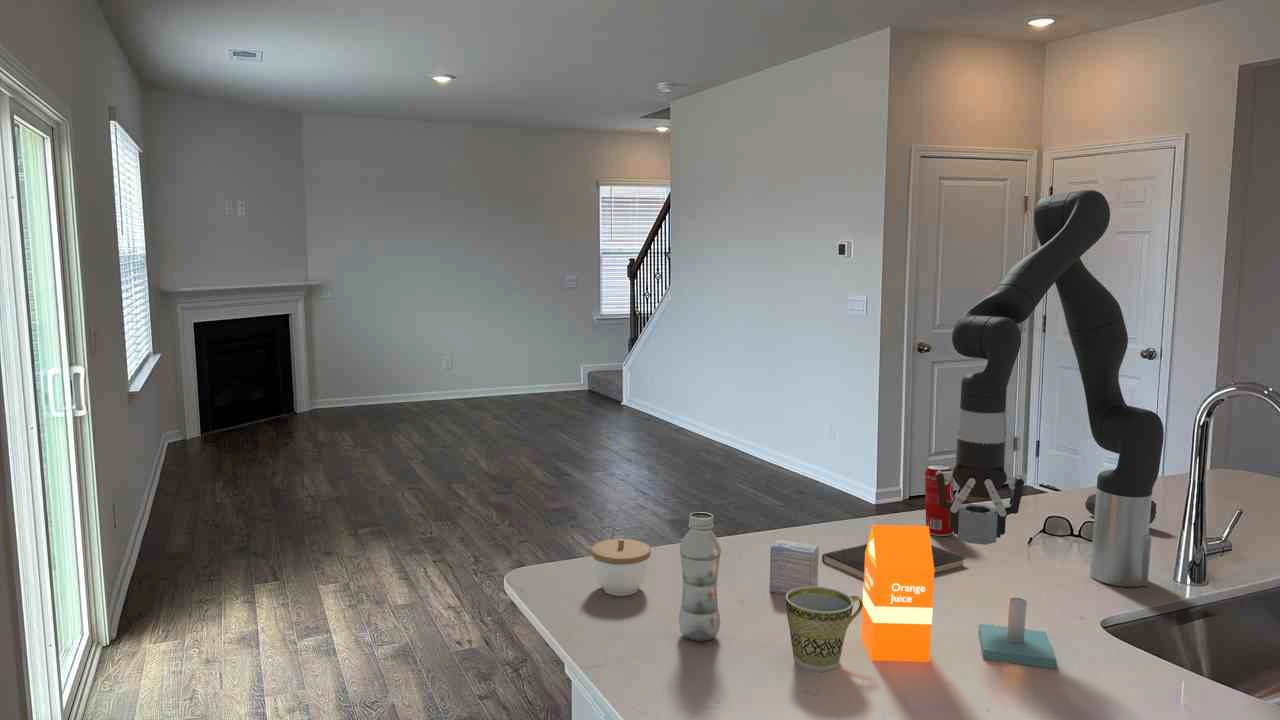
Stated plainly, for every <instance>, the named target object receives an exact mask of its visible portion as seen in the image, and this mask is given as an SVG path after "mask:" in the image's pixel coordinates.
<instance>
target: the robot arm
mask: <svg viewBox="0 0 1280 720" xmlns="http://www.w3.org/2000/svg"><path fill="white" fill-rule="evenodd" d="M1110 221H1111V209H1110V205H1109V203H1108V201H1107V199H1106V197H1105V196H1104V194H1103V193H1102V192H1100V191H1097V190H1093V189H1083V190H1075V191H1070V192H1063V193H1058V194H1051V195H1046V196H1044V197H1041V199H1040V198H1039V200H1038V201H1037V203H1036V205H1035V208H1034V211H1033V223H1034V228H1035V230H1034V231H1035V233H1036V237H1037V239H1038V242H1039V245H1040V247H1039V248H1037V249H1035V250H1034V251H1032V252H1031V253H1029V255H1027V256H1025V257H1024V258H1022V259H1021V260H1020V261H1018V262H1017V263H1015V265H1013V266H1012V267H1011V268H1010V269H1009V270H1008V271H1007V272H1006V274H1005V275H1004V276H1003V277H1002V279H1001V280H1000V282H998V284H997V285H996V287H995V288H994V289H993V291H992V292H991V293H990V294H989V295H988V296H986V297H984V298H983V299H981V300H980V301H979V302H978V303H976V304H975V305H973V306H971V308H969V309H968V310H967V311H966V312H964V313H963V315H961V316H960V317H959V319H958V320H957V322H956V323H955V325H954V326H953V327H954V328H953V330H952V334H951V342H952V346H953V348H954V350H955V351H956V352H957V354H959V355H960V356H962V357H966V358H972V359H982V360H987V363H986V366H985V367H984V370H983V371H979V372H977V371H976V372H970V373H966V375H964V376H963V378H962V380H961V385H960V408H959V413H958V420H957V430H956V434H957V435H956V436H957V437H956V451H955V453H956V455H955V456H956V457H955V465H954V468H953V469H952V471H947V472H942V471H941V470H938V471H937V472H936V479H937V488H938V498H939V506H940V507H941V508H945V509H947V510H949V511H950V521H949V526H950V530H952V531H953V535H957V534H958V523H959V512H958V510H959V508H960V506H961V505H963V503H964V502H965V500H966V499H967V498H968V497H969V498H976V497H979V498H982V499H983V498H984V499H989V498H990V499H991V500H992V503H993V505H994V508H996V509H997V512H998V518H997V537H996V539H997V538H998V539H1001V537H1002V536H1004V535H1005V533H1006V524H1007V523H1006V520H1007V516H1009V515H1011V514H1013V515H1015V514H1018V513H1019V510H1020V506H1021V505H1020V504H1021V500H1022V496H1023V492H1024V491H1023V490H1024V487H1025V480H1024V479H1023V477H1022V475H1015V476H1013V475H1009V474H1007V473H1006V471H1005V461H1006V460H1005V459H1006V442H1007V441H1006V439H1007V434H1008V432H1007V416H1006V408H1007V406H1006V405H1007V393H1008V391H1007V390H1008V385H1009V383H1010V378H1011V376H1012V375H1011V374H1012V373H1013V372H1012V371H1013V370H1014V366H1015V362H1016V360H1017V357H1018V355H1019V352H1020V349H1021V346H1022V345H1021V344H1022V333H1021V330H1020V327H1019V325H1020V324H1022V323H1024V322H1025V321H1026V320H1028V319H1029V317H1030V316H1031V314H1032V313H1033V311H1035V310H1036V308H1037V306H1038V305H1039V303H1040V302H1041V300H1042V299H1043V298H1044V296H1045V295H1046V294H1047V292H1048V291H1049V290H1050V288H1051V287H1052V286H1053V285H1054V284H1055V286H1056V291H1057V293H1058V296H1059V300H1060V303H1061V304H1060V305H1061V307H1062V311H1063V314H1064V318H1065V324H1066V327H1067V331H1068V335H1069V338H1070V340H1071V341H1070V342H1071V345H1072V347H1073V350H1074V351H1073V352H1074V353H1075V354H1074V355H1075V357H1076V361H1077V364H1078V369H1079V373H1080V377H1081V381H1082V385H1083V389H1084V390H1083V391H1084V395H1085V402H1086V403H1085V404H1086V408H1087V415H1088V421H1089V427H1090V431H1091V436H1092V438H1093V440H1094V442H1095V443H1096V444H1097V445H1098V446H1099V447H1100V448H1102V449H1103V450H1105V451H1108V452H1111V453H1115V454H1118V455H1119V456H1118V460H1117V465H1116V468H1114V469H1109V470H1108V469H1107V470H1103V471H1101V472H1100V473H1099V474H1098V475H1097V477H1096V492H1095V494H1096V502H1095V515H1093V516H1094V518H1093V528H1092V529H1093V530H1092V540H1091V541H1092V542H1091V553H1090V563H1089V567H1090V568H1089V569H1090V570H1089V575H1090V576H1091V578H1092V579H1094V580H1096V581H1099V582H1101V583H1105V584H1107V585H1112V586H1117V587H1125V588H1135V587H1148V582H1149V572H1150V560H1151V550H1152V536H1151V535H1150V534H1149V533H1150V524H1149V522H1150V511H1151V500H1152V499H1153V498H1152V496H1153V489H1154V486H1155V484H1156V482H1157V479H1158V476H1159V472H1160V467H1161V459H1162V453H1163V446H1164V439H1165V437H1164V436H1165V433H1164V432H1165V431H1164V424H1163V422H1162V419H1161V418H1160V415H1158V414H1157V413H1156V412H1154V411H1152V410H1149V409H1145V408H1140V407H1136V406H1132V405H1128V404H1126V401H1125V399H1124V397H1123V393H1122V390H1121V385H1120V381H1119V379H1120V378H1119V375H1120V374H1119V373H1120V369H1121V366H1122V363H1123V360H1124V358H1125V356H1126V352H1127V349H1128V344H1129V336H1128V332H1127V331H1128V330H1127V327H1126V322H1125V317H1124V315H1123V311H1122V307H1121V306H1120V304H1119V302H1118V300H1117V299H1116V298H1115V296H1114V295H1113V294H1112V293H1111V292H1110V291H1109V290H1108V289H1107V288H1106V287H1105V286H1104V285H1103V284H1102V283H1101V282H1100V281H1099V280H1098V279H1097V278H1096V277H1094V275H1093V274H1092V273H1091V272H1090V271H1089V270H1088V269H1087V267H1086V265H1085V264H1084V262H1083V261H1082V259H1081V257H1082V256H1083V255H1084V254H1085V253H1086V252H1087V251H1088V250H1089V249H1091V248H1092V247H1093V246H1094V245H1095V244H1096V243H1097V242H1098V241H1100V239H1101V238H1102V236H1104V234H1105V232H1107V229H1108V227H1109V224H1110ZM1018 324H1019V325H1018ZM951 478H953V481H955V483H956V484H957V486H958V488H957V490H956V492H955V494H954V495H953V500H952V501H949V500H947V499H946V492H945V485H948V484H949V481H950V479H951ZM1006 483H1008V487H1009V489H1010V490H1011V494H1010V499H1009V504H1005V505H1004V503H1003V501H1002V499H1001V497H1000V494H999V493H998V491H999V490H1000V489H1001V488H1002V487H1003V486H1004V484H1006Z"/></svg>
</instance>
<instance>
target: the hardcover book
mask: <svg viewBox="0 0 1280 720" xmlns="http://www.w3.org/2000/svg"><path fill="white" fill-rule="evenodd" d="M867 544H868V543H866V544H862V545H856V546H853V547H852V546H851V547H848V548H845V549H838V550H836V551H830V552H826V553H825V552H824V553H823V554H822V557H821V562H822V561H826V562H828V563H830V564H829V565H831V564H832V565H831V566H833V565H835V566H837V567H839V568H838V569H840V568H841V569H840V570H842V569H844V570H846V571H845V572H847V571H848V572H847V573H849V572H850V573H849V574H851V573H852V574H851V575H853V574H855V575H854V576H856V575H857V576H856V577H858V576H859V577H858V578H860V577H861V578H860V579H862V578H864V567H865V551H866V548H867ZM931 548H932V556H933V564H934V569H935V571H934V574H935V573H940V572H943V571H947V570H950V569H955V568H959V567H962V566H964V561H965V560H966V559H967V558H966V556H963V555H959V554H956V553H954V552H951V551H949V550H946V549H943V548H940V547H938V546H934V545H933V544H931ZM826 562H825V563H826ZM828 563H827V564H828ZM835 566H834V567H835ZM837 567H836V568H837ZM844 570H843V571H844Z"/></svg>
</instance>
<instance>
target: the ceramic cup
mask: <svg viewBox="0 0 1280 720" xmlns="http://www.w3.org/2000/svg"><path fill="white" fill-rule="evenodd" d="M784 598H785V609H786V615H787V616H786V617H787V620H788V626H789V636H790V642H791V648H792V655H793V662H794V663H795V664H796V665H797V666H799V667H800V668H801V669H803V670H806V671H811V672H816V673H825V672H829V671H830V672H831V671H835V670H836V669H838V666H839V663H840V660H841V655H842V650H843V646H844V641H845V638H846V633H847V630H848V628H849V626H850V624H851V623H852V621H853V620H855V618H856V617H858V616H859V615H860V614H861V612H862V610H863V598H861V597H859V596H857V595H851V596H850V595H848V594H847V593H845V592H843V591H840V590H837V589H835V588H831V587H826V586H818V587H815V586H809V587H800V588H795V589H793V590H791V591H789V592H788V593H787V594H785V596H784ZM857 601H858V603H859V606H858V609H857V610H856V611H854V613H853V608H854V602H857Z"/></svg>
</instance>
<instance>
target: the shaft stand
mask: <svg viewBox="0 0 1280 720" xmlns="http://www.w3.org/2000/svg"><path fill="white" fill-rule="evenodd" d="M1027 604H1028V603H1027V600H1026V599H1023V598H1021V597H1011V598H1009V608H1008V620H1007V621H1008V622H1007V623H1008V624H1007V626H1003V625H1002V626H1001V625H994V624H986V623H978V638H979V644H980V649H981V655H982V659H983V660H987V661H993V662H994V661H995V662H1001V663H1008V664H1009V663H1011V664H1017V665H1025V666H1031V667H1038V668H1039V667H1040V668H1047V669H1056V668H1055V667H1056V666H1055V665H1056V657H1055V655H1054V652H1053V648H1052V645H1051V643H1050V640H1049V637H1048V634H1047V632H1046V631H1042V630H1033V629H1025V628H1026V627H1025V626H1026V617H1027V616H1026V615H1027Z"/></svg>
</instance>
